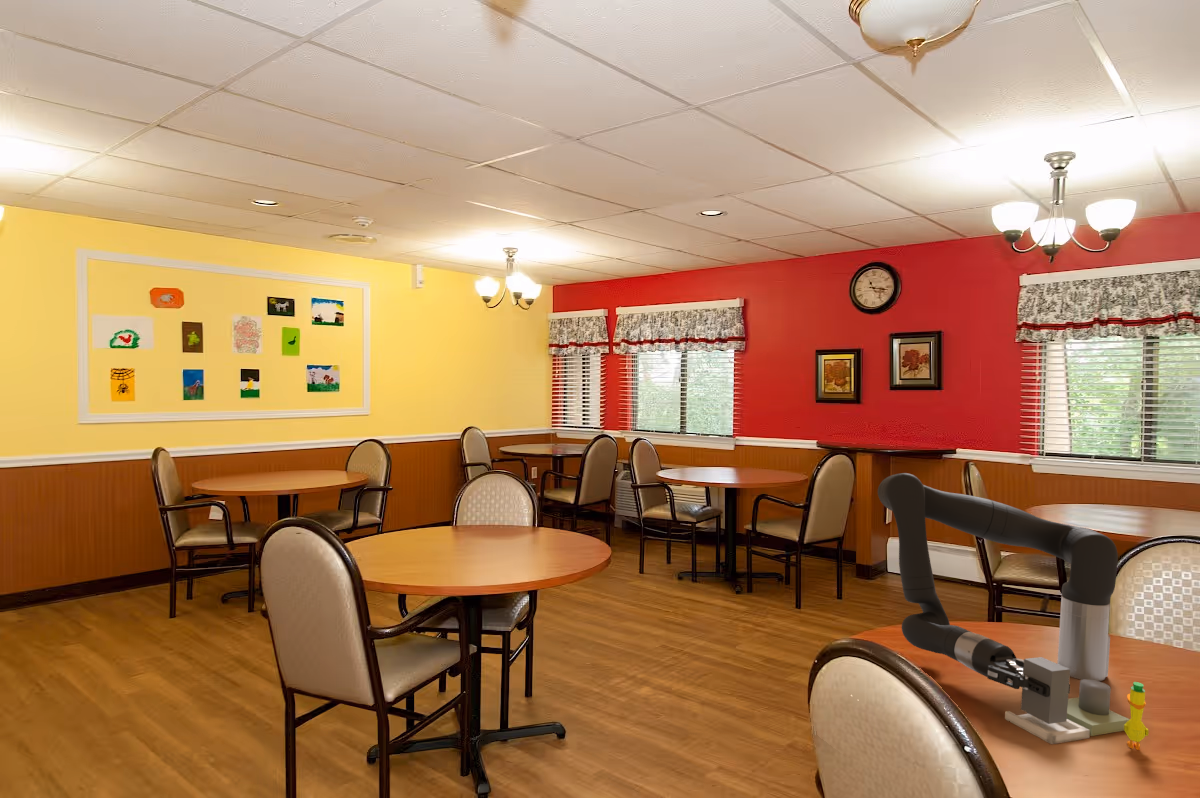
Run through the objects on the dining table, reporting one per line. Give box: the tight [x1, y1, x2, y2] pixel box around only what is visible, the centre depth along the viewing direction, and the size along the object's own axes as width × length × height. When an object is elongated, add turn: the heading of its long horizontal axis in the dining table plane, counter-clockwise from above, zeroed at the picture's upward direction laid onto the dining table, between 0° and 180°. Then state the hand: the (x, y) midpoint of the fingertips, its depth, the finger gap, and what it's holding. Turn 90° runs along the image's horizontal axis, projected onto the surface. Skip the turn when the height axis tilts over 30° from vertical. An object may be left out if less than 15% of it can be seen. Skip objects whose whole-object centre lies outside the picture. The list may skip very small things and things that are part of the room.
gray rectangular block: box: [1020, 656, 1071, 724], centre depth 139 cm, size 4×6×10 cm
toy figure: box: [1124, 681, 1150, 751], centre depth 132 cm, size 7×4×12 cm, turn 153°
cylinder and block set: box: [1004, 679, 1131, 745], centre depth 140 cm, size 21×10×7 cm, turn 109°
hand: (1058, 690), depth 136 cm, fingers closed on gray rectangular block, 4 cm apart
